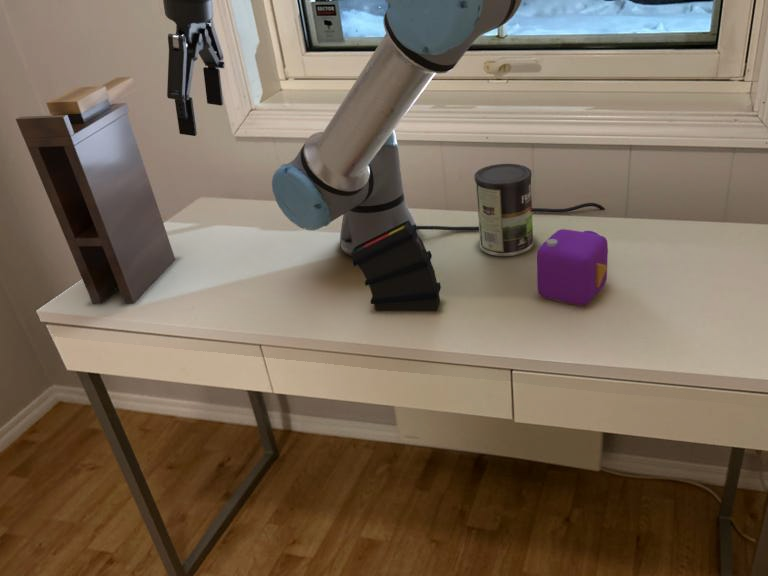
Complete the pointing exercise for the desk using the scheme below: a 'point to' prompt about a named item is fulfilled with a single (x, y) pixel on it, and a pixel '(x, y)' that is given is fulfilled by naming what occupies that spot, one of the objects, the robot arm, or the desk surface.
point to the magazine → (398, 270)
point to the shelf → (101, 200)
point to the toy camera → (572, 266)
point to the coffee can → (504, 209)
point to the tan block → (91, 100)
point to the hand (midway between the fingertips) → (202, 118)
